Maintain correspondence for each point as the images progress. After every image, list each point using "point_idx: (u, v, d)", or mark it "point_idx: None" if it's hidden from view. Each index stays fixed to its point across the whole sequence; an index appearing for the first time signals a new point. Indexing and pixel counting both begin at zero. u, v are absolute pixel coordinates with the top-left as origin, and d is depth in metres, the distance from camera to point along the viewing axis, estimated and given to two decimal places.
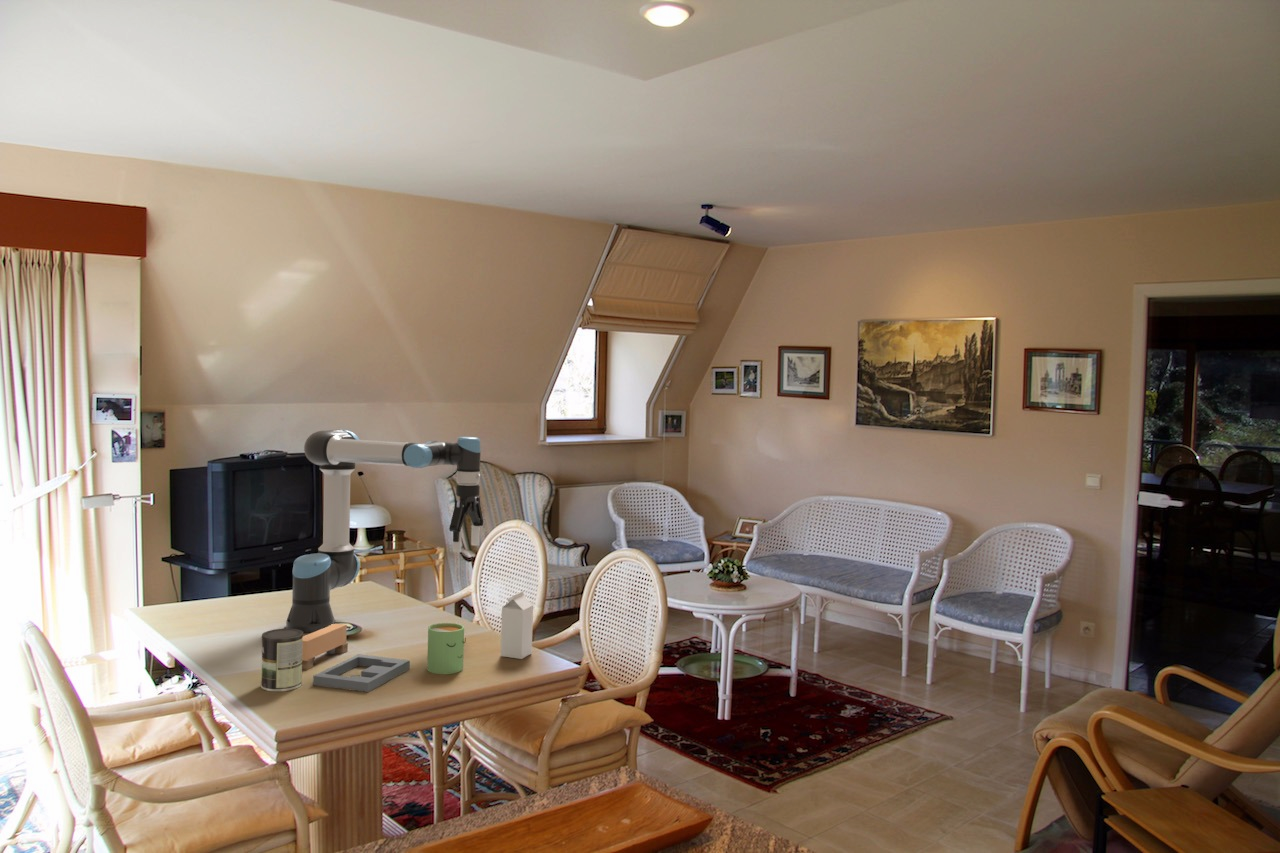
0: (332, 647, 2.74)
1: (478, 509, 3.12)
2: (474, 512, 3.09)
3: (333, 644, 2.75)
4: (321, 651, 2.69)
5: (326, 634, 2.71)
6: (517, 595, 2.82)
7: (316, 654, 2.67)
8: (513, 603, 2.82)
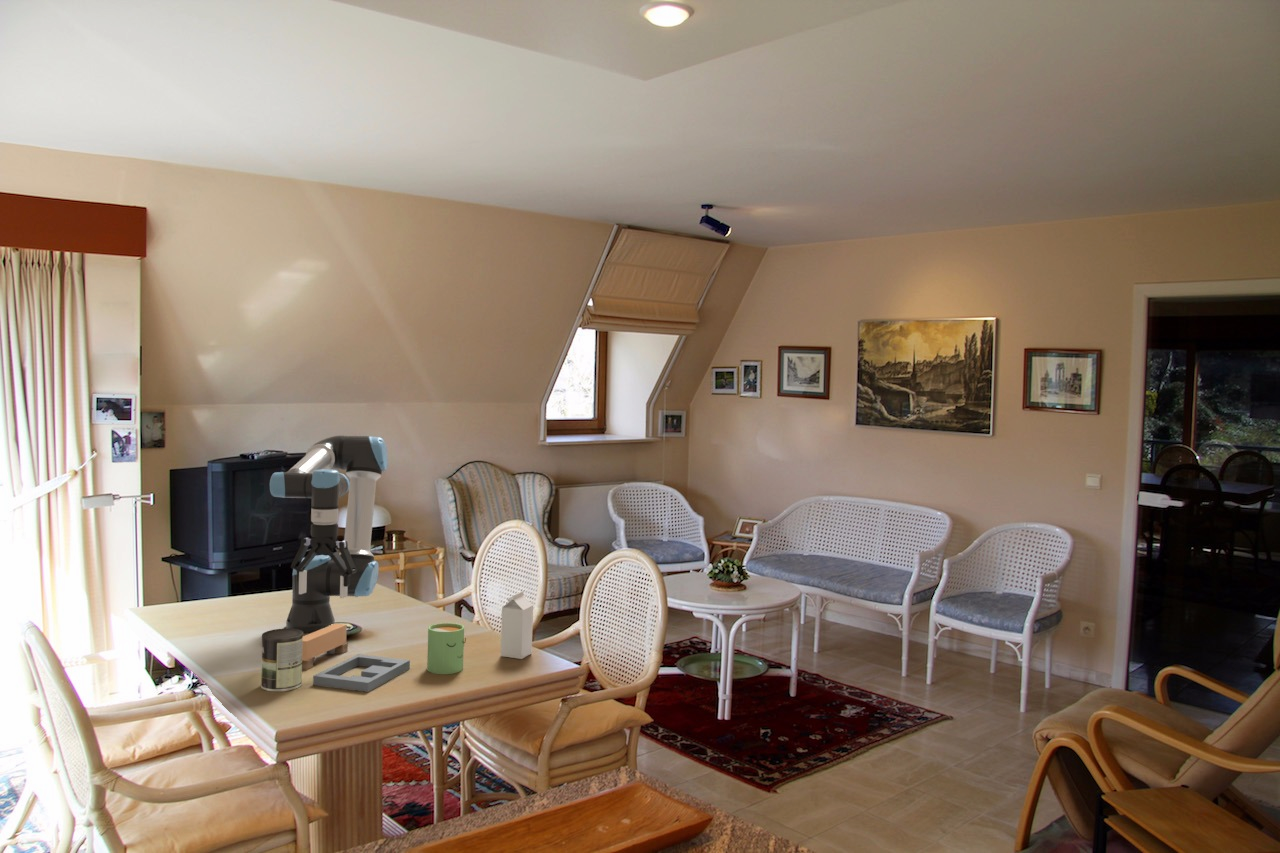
0: (332, 647, 2.74)
1: None
2: None
3: (333, 644, 2.75)
4: (321, 651, 2.69)
5: (326, 634, 2.71)
6: (517, 595, 2.82)
7: (316, 654, 2.67)
8: (513, 603, 2.82)
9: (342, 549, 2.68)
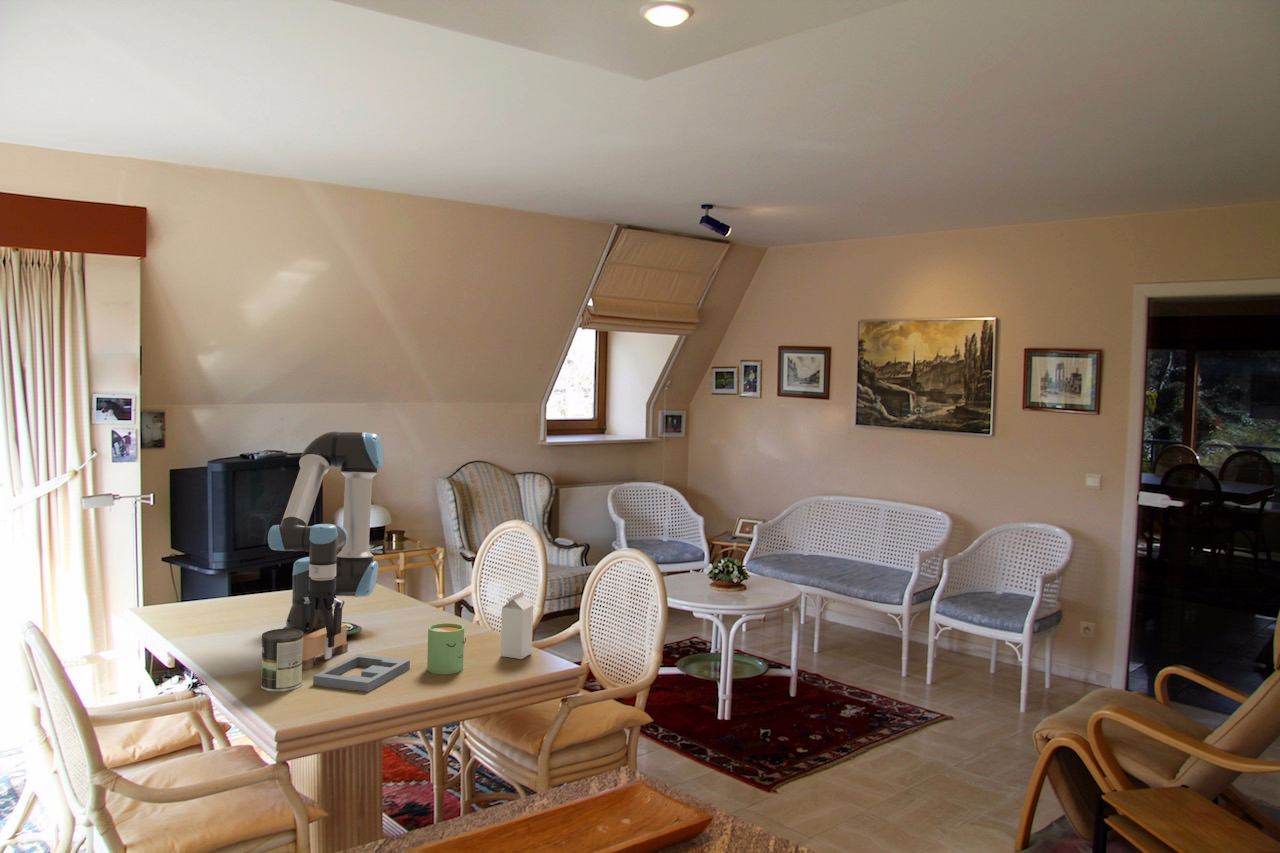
0: (332, 647, 2.74)
1: None
2: None
3: None
4: (321, 651, 2.69)
5: (326, 634, 2.71)
6: (517, 595, 2.82)
7: (316, 654, 2.67)
8: (513, 603, 2.82)
9: (336, 610, 2.69)
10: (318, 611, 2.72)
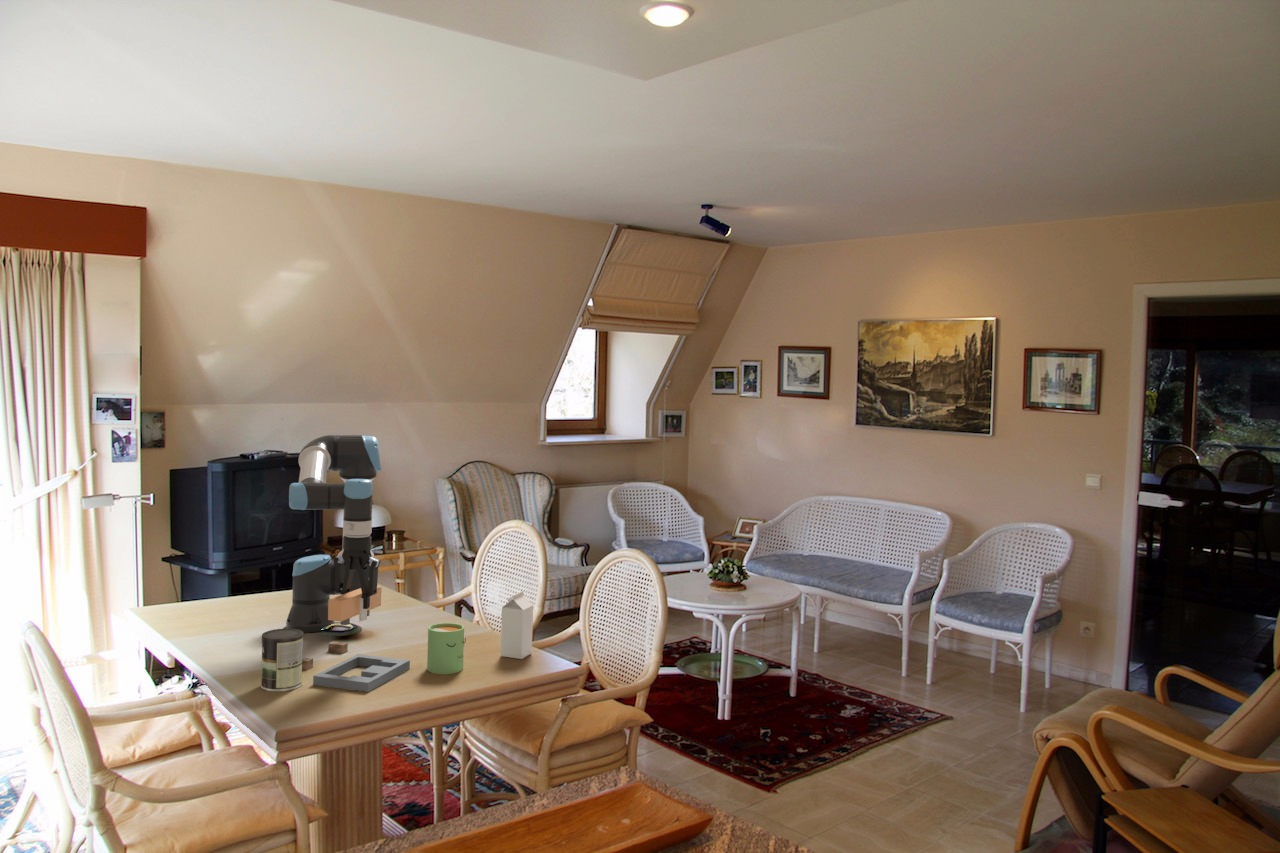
0: (367, 609, 2.59)
1: None
2: None
3: None
4: (356, 612, 2.54)
5: (361, 595, 2.56)
6: (517, 595, 2.82)
7: (351, 615, 2.52)
8: (513, 603, 2.82)
9: (372, 569, 2.54)
10: (352, 571, 2.58)
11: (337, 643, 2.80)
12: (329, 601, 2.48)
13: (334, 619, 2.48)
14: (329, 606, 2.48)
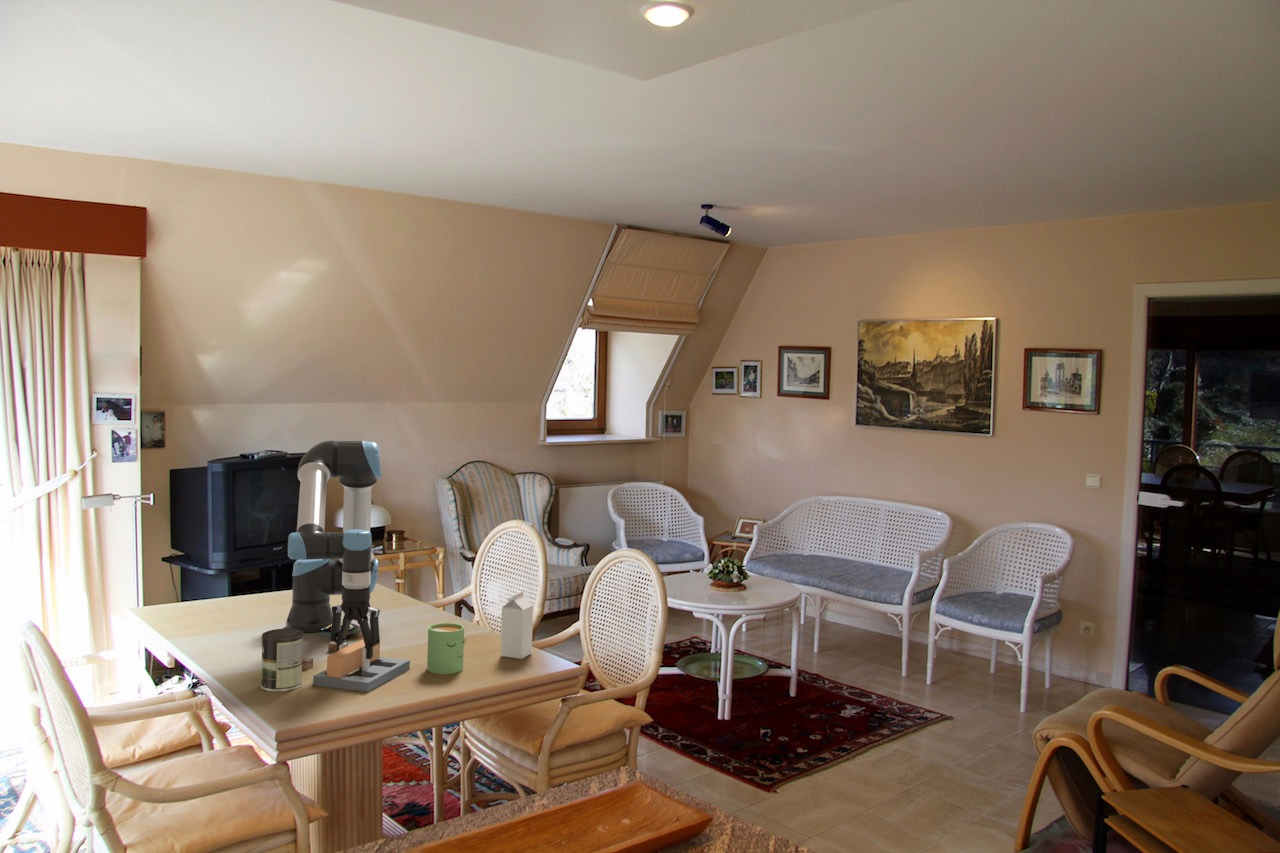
0: None
1: None
2: None
3: None
4: (355, 667, 2.55)
5: (360, 649, 2.57)
6: (517, 595, 2.82)
7: (350, 670, 2.52)
8: (513, 603, 2.82)
9: (372, 619, 2.55)
10: (350, 621, 2.58)
11: None
12: (328, 657, 2.49)
13: (333, 675, 2.48)
14: (328, 662, 2.49)
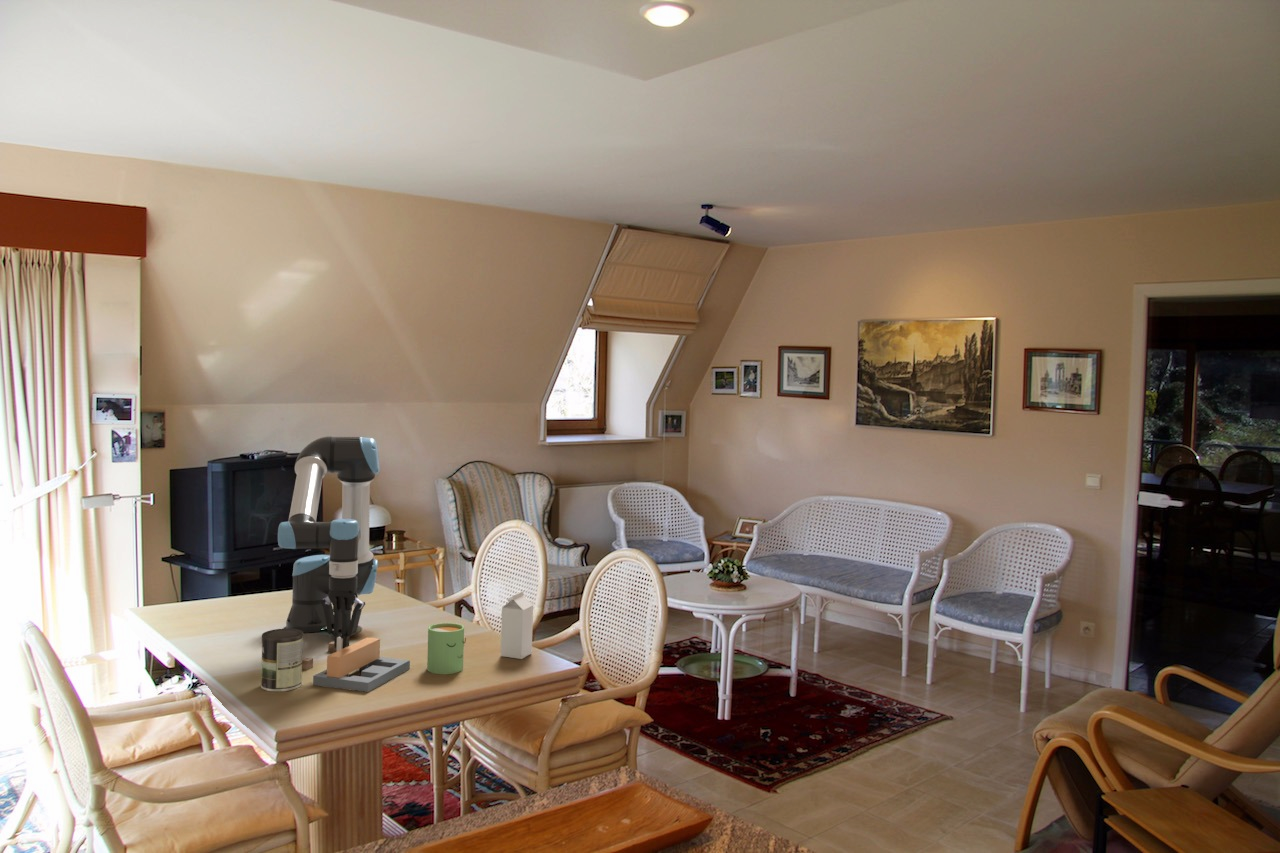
0: (366, 663, 2.60)
1: None
2: None
3: (367, 659, 2.61)
4: (355, 667, 2.55)
5: (360, 649, 2.57)
6: (517, 595, 2.82)
7: (350, 670, 2.52)
8: (513, 603, 2.82)
9: (356, 610, 2.56)
10: (341, 611, 2.59)
11: None
12: (328, 657, 2.49)
13: (333, 675, 2.48)
14: (328, 662, 2.49)
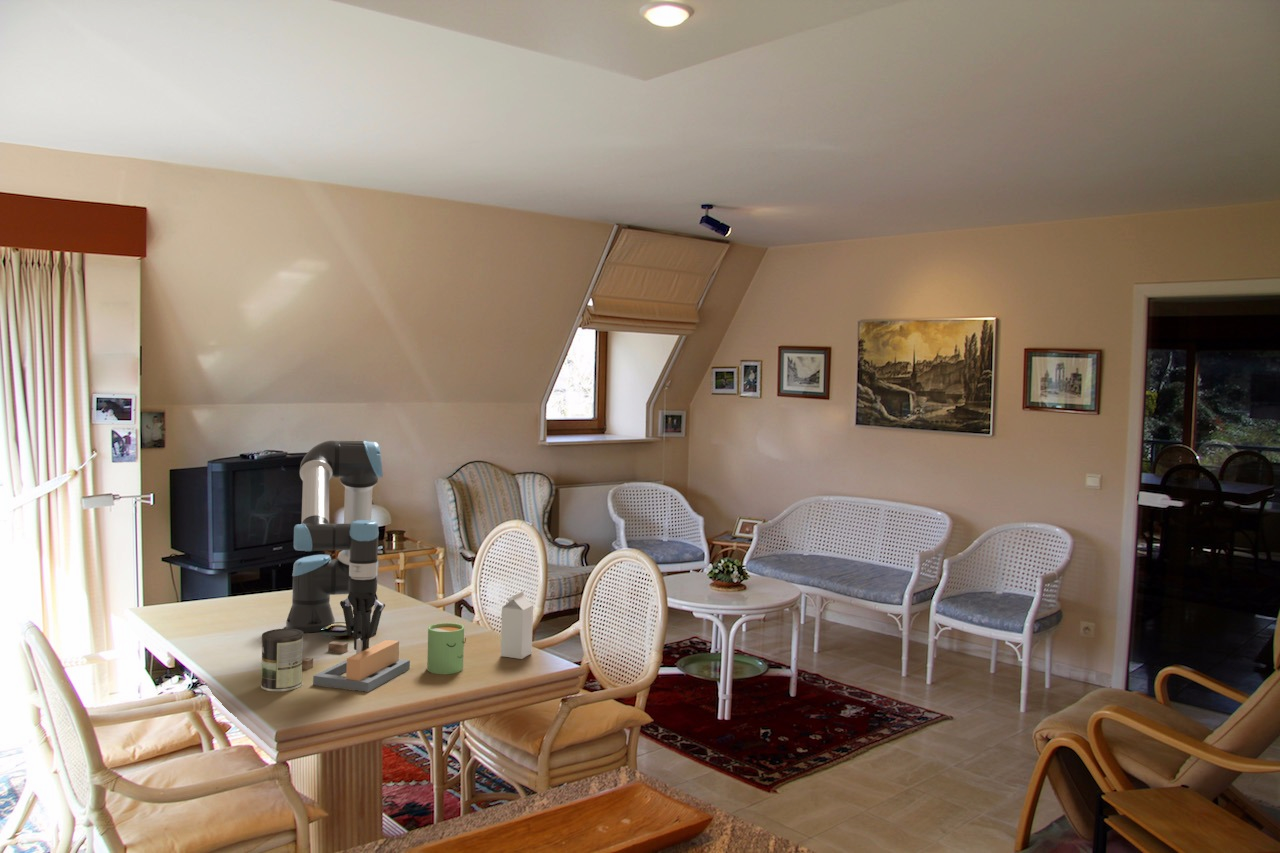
0: (385, 665, 2.58)
1: None
2: None
3: (386, 662, 2.59)
4: (374, 670, 2.53)
5: (379, 652, 2.55)
6: (517, 595, 2.82)
7: (369, 673, 2.51)
8: (513, 603, 2.82)
9: (376, 612, 2.54)
10: (361, 612, 2.57)
11: (337, 643, 2.80)
12: (347, 660, 2.47)
13: (352, 678, 2.46)
14: (348, 665, 2.47)
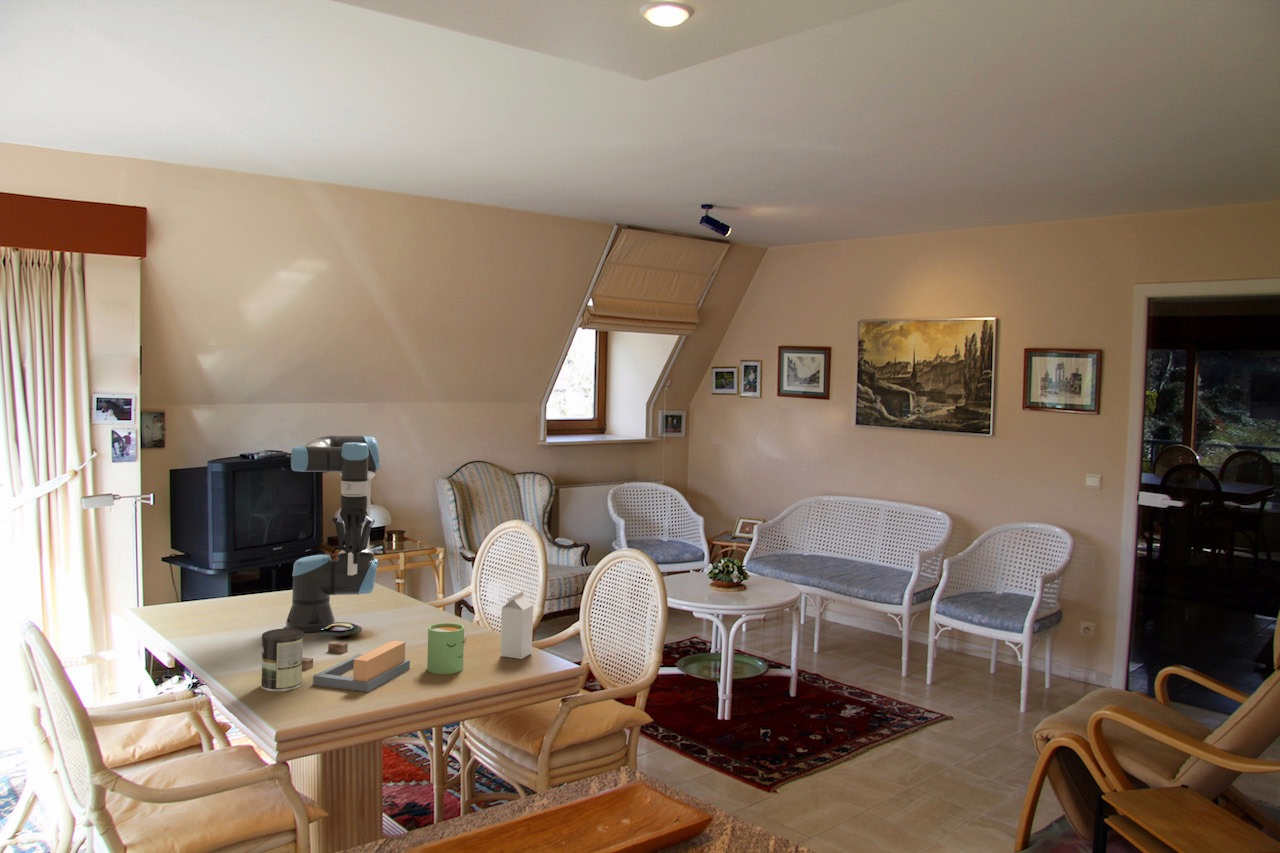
0: (391, 666, 2.58)
1: None
2: None
3: (393, 663, 2.58)
4: (381, 671, 2.52)
5: (386, 652, 2.54)
6: (517, 595, 2.82)
7: (376, 674, 2.50)
8: (513, 603, 2.82)
9: (366, 527, 2.73)
10: (352, 528, 2.76)
11: (337, 643, 2.80)
12: (354, 661, 2.46)
13: (359, 679, 2.46)
14: (355, 666, 2.46)
